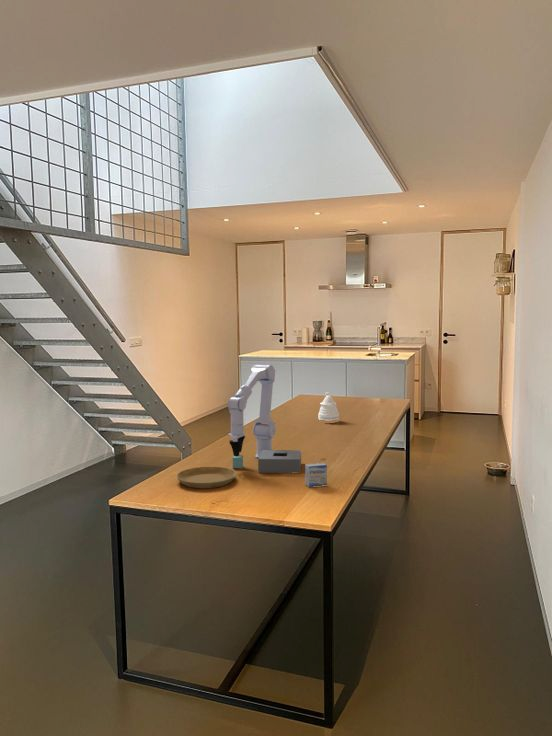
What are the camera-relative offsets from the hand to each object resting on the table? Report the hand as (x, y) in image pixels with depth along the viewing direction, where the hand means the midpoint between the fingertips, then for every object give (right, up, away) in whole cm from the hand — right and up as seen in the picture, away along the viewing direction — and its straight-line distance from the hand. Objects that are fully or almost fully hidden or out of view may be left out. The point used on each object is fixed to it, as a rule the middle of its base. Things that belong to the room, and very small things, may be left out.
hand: (237, 454), depth 256 cm
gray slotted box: (+19, -6, -1) cm, 20 cm away
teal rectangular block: (0, -6, +1) cm, 6 cm away
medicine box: (+33, -9, -27) cm, 43 cm away
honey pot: (+50, +5, +101) cm, 112 cm away
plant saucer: (-11, -9, -19) cm, 24 cm away
